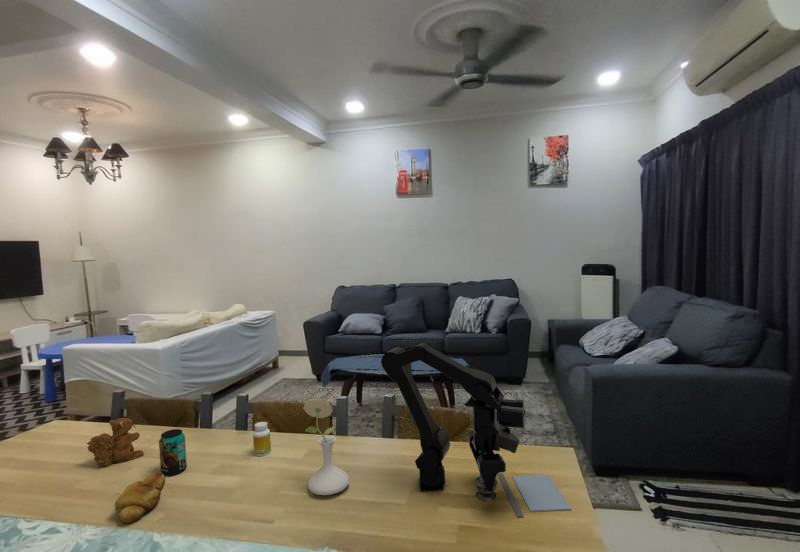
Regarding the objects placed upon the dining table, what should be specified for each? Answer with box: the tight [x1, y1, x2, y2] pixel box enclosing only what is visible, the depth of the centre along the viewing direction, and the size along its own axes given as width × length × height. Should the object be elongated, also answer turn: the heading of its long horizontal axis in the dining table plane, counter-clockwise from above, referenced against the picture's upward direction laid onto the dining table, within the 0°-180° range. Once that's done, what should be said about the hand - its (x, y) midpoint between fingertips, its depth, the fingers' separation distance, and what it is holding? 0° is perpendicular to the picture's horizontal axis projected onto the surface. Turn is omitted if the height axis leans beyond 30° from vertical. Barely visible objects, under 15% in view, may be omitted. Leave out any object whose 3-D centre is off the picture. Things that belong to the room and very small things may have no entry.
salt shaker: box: [474, 453, 498, 502], centre depth 111 cm, size 6×6×12 cm
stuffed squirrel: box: [86, 417, 145, 467], centre depth 139 cm, size 10×14×13 cm
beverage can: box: [158, 428, 188, 477], centre depth 130 cm, size 7×7×12 cm
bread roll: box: [114, 471, 166, 524], centre depth 110 cm, size 13×10×8 cm
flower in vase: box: [303, 397, 350, 496], centre depth 117 cm, size 13×11×25 cm
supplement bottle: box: [252, 421, 272, 457], centre depth 140 cm, size 5×5×10 cm
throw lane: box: [497, 472, 572, 519], centre depth 111 cm, size 14×20×1 cm
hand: (486, 481), depth 111 cm, fingers closed on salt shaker, 8 cm apart
